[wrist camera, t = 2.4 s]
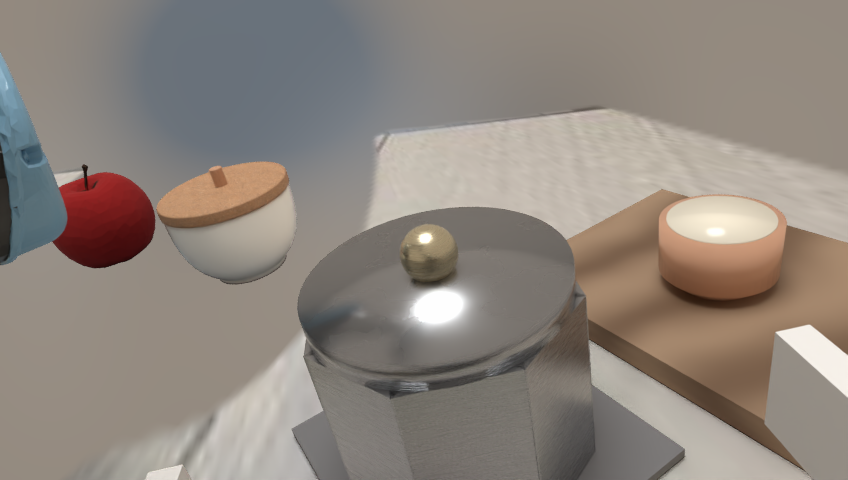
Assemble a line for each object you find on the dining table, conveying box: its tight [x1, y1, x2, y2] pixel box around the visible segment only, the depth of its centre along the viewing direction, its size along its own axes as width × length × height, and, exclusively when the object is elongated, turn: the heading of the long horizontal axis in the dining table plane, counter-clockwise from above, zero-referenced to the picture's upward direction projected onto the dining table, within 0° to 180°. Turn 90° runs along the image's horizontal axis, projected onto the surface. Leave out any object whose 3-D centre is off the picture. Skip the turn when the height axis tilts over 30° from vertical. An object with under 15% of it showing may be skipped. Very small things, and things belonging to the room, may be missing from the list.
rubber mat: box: [292, 385, 685, 480], centre depth 28 cm, size 14×14×1 cm
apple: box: [52, 165, 155, 268], centre depth 55 cm, size 9×9×10 cm
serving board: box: [566, 189, 848, 470], centre depth 34 cm, size 20×16×2 cm
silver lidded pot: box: [297, 207, 596, 480], centre depth 25 cm, size 11×11×12 cm
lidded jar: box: [156, 162, 297, 284], centre depth 48 cm, size 11×11×9 cm
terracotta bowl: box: [658, 195, 787, 301], centre depth 33 cm, size 6×6×4 cm
